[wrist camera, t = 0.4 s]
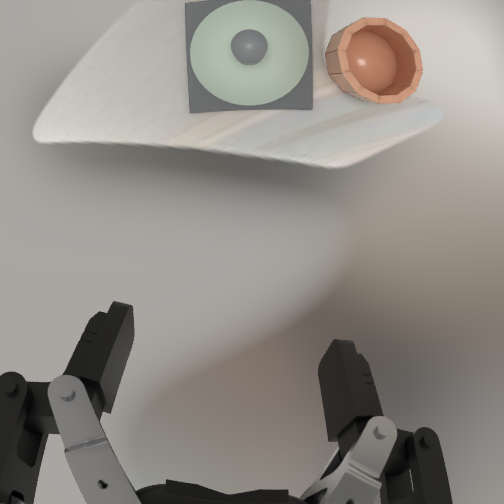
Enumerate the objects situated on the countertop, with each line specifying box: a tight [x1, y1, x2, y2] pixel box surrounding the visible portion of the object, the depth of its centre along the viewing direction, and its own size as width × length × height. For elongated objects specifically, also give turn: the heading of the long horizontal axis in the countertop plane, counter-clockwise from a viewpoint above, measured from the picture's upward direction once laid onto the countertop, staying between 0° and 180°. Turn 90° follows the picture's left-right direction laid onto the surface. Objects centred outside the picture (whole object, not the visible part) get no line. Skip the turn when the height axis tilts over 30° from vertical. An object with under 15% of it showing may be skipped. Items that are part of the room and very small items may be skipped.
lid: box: [190, 0, 309, 106], centre depth 24 cm, size 12×12×5 cm
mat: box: [185, 0, 313, 113], centre depth 26 cm, size 13×13×1 cm
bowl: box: [325, 18, 423, 104], centre depth 25 cm, size 9×9×5 cm
